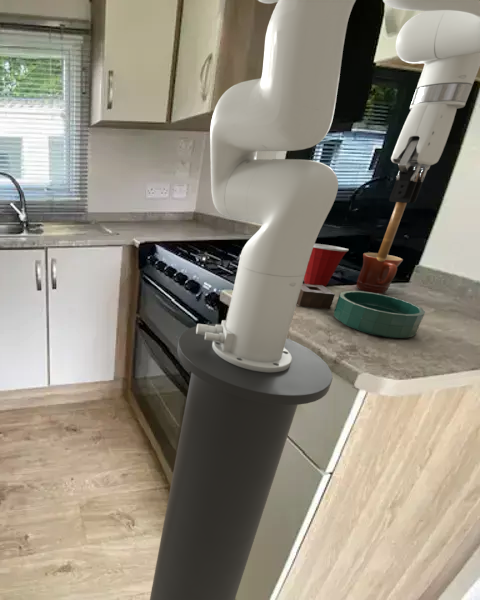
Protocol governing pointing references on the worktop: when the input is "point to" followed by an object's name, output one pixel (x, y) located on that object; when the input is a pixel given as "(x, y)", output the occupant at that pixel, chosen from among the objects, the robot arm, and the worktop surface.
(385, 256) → the stick
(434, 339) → the worktop surface
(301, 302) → the holder
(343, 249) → the plastic cup
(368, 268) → the mug
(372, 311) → the bowl
